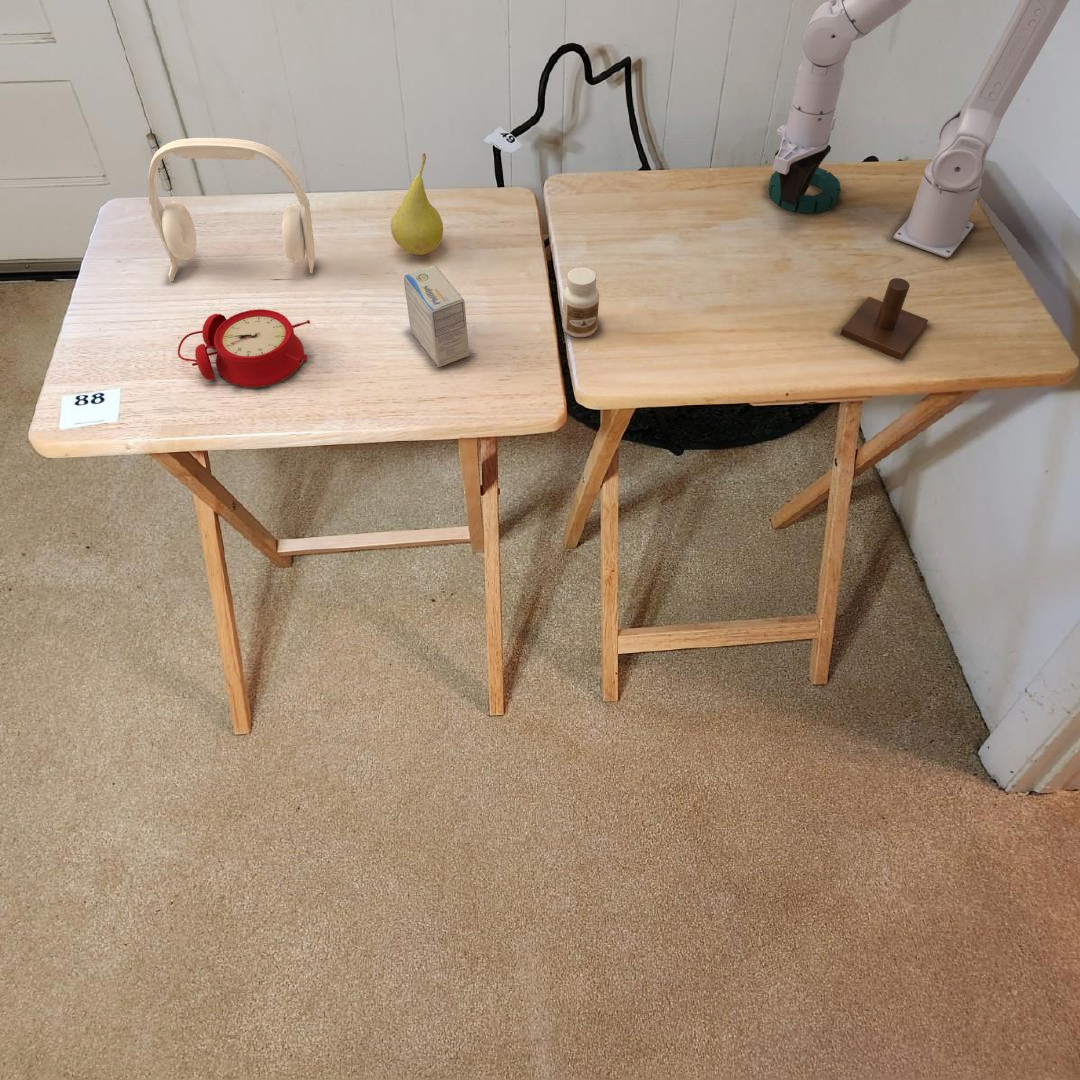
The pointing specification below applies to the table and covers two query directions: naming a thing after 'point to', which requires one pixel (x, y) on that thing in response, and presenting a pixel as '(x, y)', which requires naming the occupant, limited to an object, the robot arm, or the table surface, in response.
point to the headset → (178, 221)
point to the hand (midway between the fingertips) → (792, 197)
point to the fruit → (417, 220)
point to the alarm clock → (249, 348)
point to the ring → (809, 202)
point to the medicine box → (437, 315)
